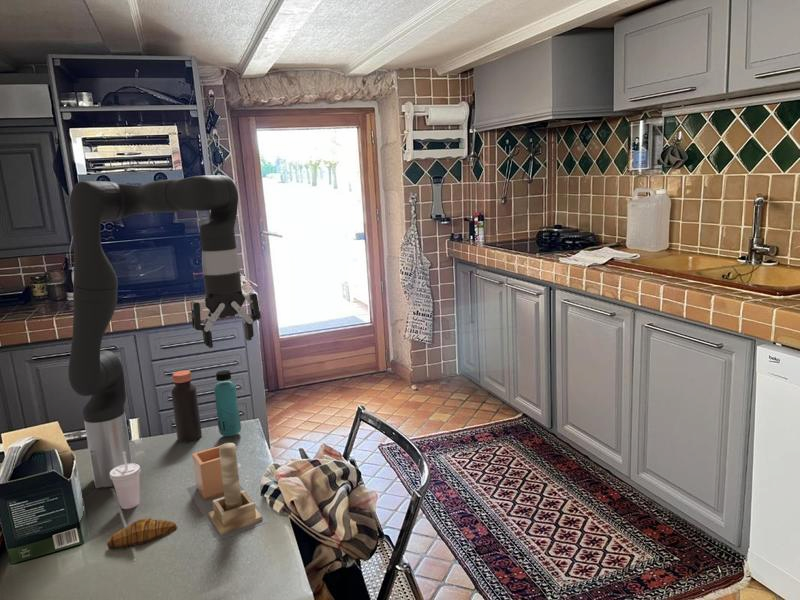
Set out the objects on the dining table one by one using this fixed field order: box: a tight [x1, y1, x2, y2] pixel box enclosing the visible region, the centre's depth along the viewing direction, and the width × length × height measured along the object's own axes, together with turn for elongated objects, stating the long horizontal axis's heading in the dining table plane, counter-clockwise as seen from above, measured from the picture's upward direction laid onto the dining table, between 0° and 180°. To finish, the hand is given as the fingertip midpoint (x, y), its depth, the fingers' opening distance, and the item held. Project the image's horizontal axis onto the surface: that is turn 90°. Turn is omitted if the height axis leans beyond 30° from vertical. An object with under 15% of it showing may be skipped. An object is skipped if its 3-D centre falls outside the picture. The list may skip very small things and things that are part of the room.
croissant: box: [106, 517, 178, 550], centre depth 121 cm, size 14×7×5 cm, turn 113°
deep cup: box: [191, 445, 224, 500], centre depth 137 cm, size 7×7×9 cm
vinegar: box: [170, 370, 203, 443], centre depth 169 cm, size 7×7×20 cm
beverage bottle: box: [213, 369, 242, 437], centre depth 168 cm, size 6×7×20 cm
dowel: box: [219, 442, 242, 511], centre depth 124 cm, size 3×3×16 cm
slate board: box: [186, 484, 270, 542], centre depth 132 cm, size 11×26×1 cm, turn 33°
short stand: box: [208, 489, 262, 535], centre depth 126 cm, size 9×9×4 cm
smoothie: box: [110, 452, 141, 510], centre depth 133 cm, size 6×6×14 cm
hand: (229, 343), depth 127 cm, fingers open, 8 cm apart
